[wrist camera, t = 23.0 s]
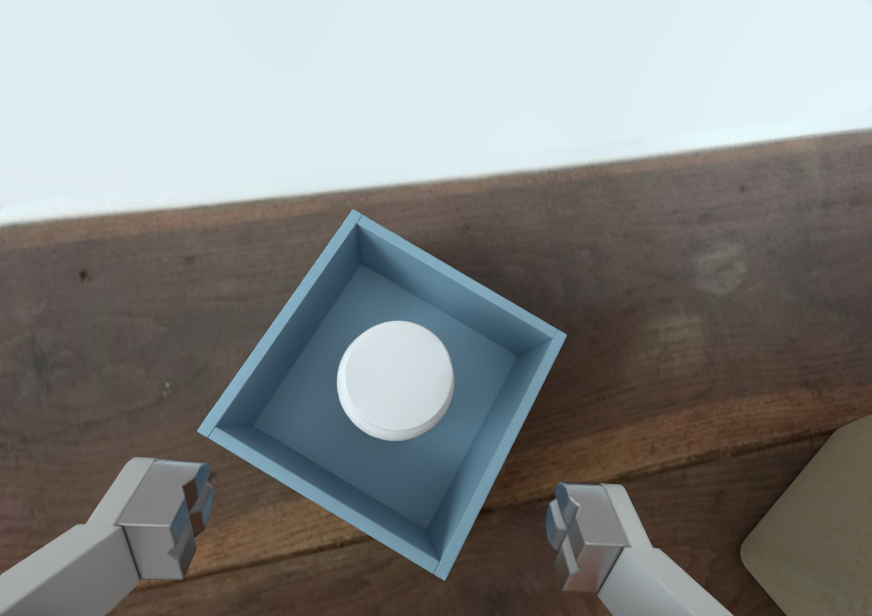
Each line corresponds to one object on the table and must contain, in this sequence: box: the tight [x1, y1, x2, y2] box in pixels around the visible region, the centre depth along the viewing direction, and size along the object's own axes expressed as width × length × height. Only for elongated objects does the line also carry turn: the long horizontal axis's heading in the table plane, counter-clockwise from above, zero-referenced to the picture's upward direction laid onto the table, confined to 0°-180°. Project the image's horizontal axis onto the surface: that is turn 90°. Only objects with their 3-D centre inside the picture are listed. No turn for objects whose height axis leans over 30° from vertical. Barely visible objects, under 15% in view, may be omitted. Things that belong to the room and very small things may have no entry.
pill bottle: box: [337, 321, 454, 441], centre depth 24 cm, size 6×6×10 cm
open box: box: [197, 209, 567, 580], centre depth 26 cm, size 13×13×7 cm
